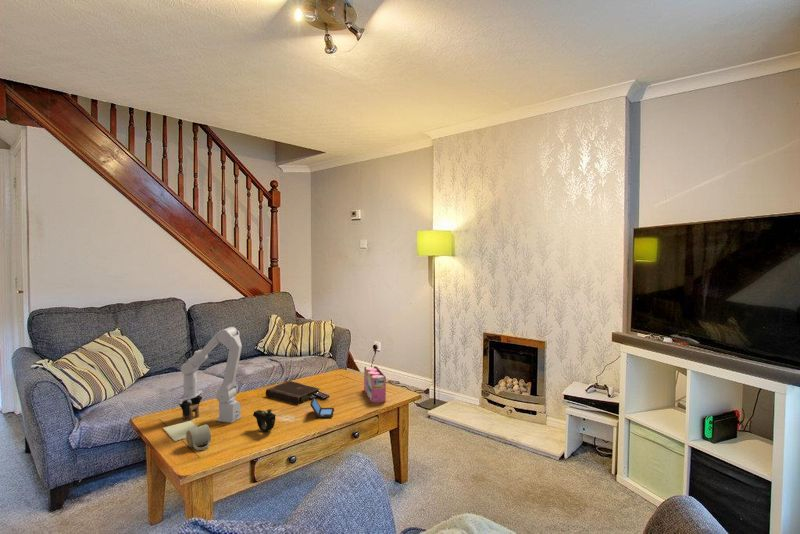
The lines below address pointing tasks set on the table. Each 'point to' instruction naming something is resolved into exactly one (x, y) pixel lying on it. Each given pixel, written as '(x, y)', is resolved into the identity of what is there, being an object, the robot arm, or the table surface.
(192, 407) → the stool
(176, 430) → the mat
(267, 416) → the controller
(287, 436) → the table surface
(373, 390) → the gum box
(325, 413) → the handheld game console
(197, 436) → the ceramic mug
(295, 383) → the black media player box
